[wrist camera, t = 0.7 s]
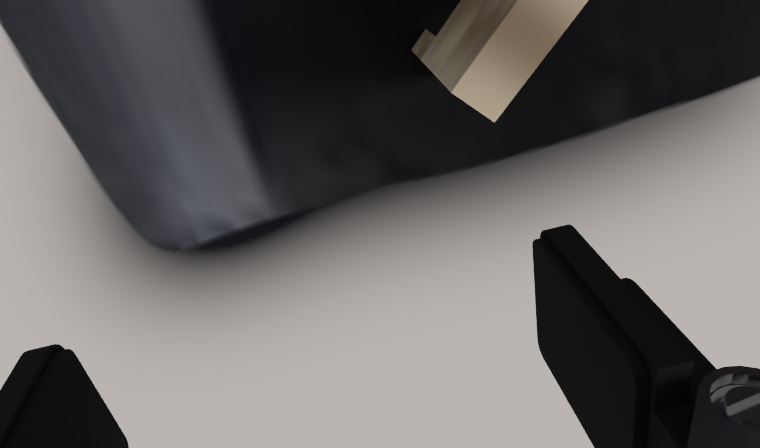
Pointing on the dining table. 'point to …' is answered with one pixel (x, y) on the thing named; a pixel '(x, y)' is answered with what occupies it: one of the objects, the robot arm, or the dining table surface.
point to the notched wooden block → (494, 47)
